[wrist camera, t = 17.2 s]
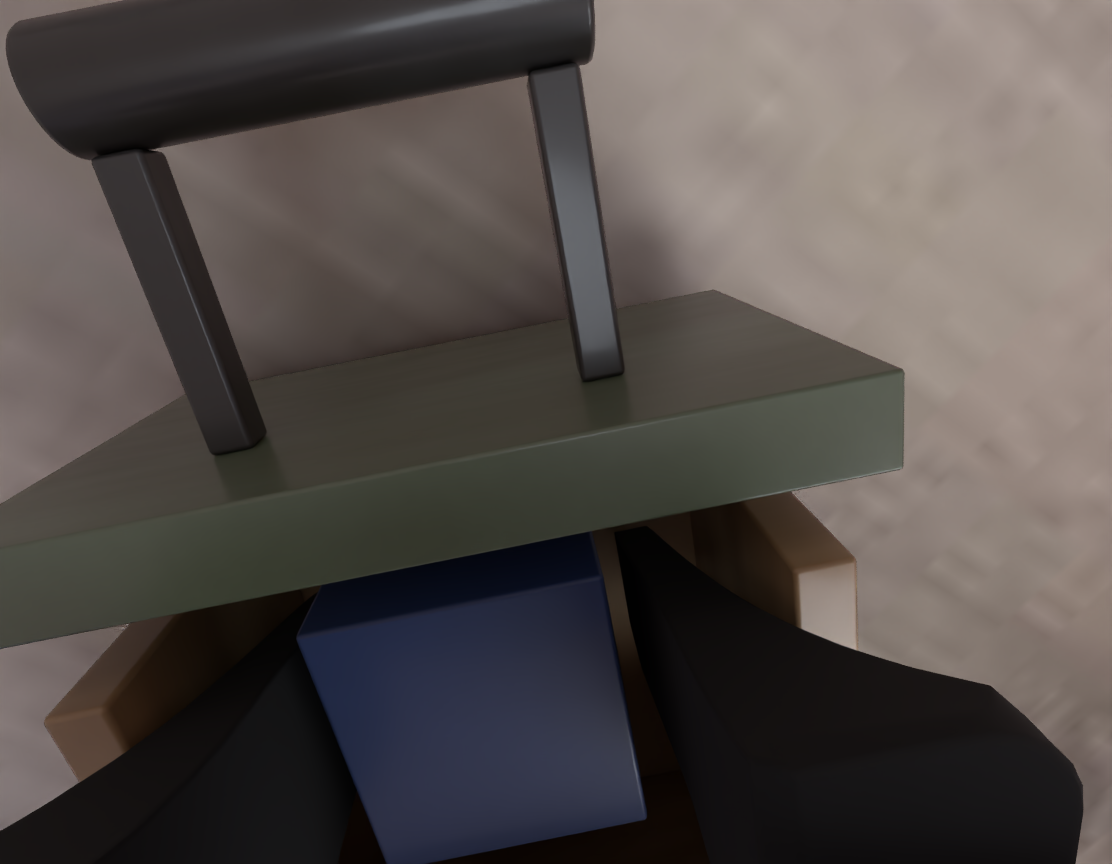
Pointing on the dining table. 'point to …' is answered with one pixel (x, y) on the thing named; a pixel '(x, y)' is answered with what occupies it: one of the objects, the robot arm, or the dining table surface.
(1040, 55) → the dining table surface
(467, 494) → the drawer
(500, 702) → the box
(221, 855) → the robot arm
